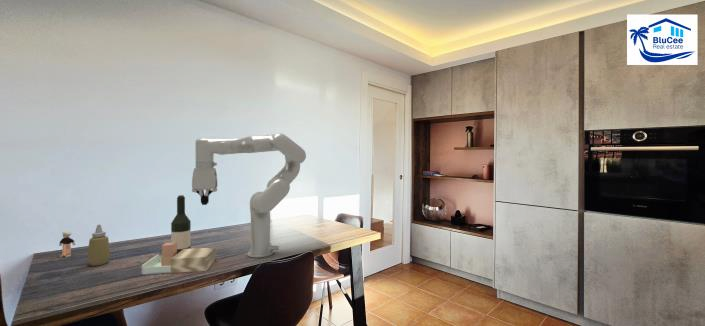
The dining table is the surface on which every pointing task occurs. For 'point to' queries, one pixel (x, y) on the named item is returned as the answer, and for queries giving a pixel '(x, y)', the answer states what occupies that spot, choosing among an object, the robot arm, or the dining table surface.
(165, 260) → the block
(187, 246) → the wine bottle
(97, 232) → the squeeze bottle
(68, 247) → the grandmother figurine
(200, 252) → the plate
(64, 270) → the dining table surface
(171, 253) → the block
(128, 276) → the dining table surface
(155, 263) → the tray
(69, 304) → the dining table surface
